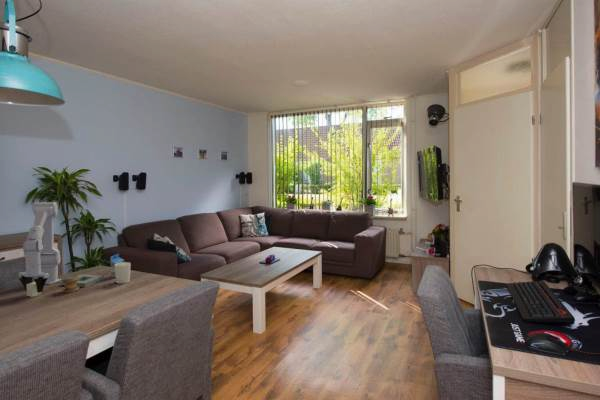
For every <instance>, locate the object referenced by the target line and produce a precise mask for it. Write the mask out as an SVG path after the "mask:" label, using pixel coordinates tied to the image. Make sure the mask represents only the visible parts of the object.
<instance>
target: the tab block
mask: <svg viewBox="0 0 600 400" xmlns="http://www.w3.org/2000/svg"><path fill="white" fill-rule="evenodd" d="M26 285H27V292H26V297H27V296H30V297H29V298H34V297H36V296H39V295H42V294H41V293H42V292H43V291H42V292H40V293H38V292H37V286H36V283H35V281H32V283H29V284H26ZM38 294H39V295H38ZM33 296H34V297H33Z"/></svg>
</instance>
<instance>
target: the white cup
mask: <svg viewBox="0 0 600 400" xmlns="http://www.w3.org/2000/svg"><path fill="white" fill-rule="evenodd" d="M130 276H131V262H129V261H127V262H126V261H125V262H122V263H117V264H115V277H116V278H115V283H117V284H126V283H129V282H130V280H131V279H130V278H131V277H130Z"/></svg>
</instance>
